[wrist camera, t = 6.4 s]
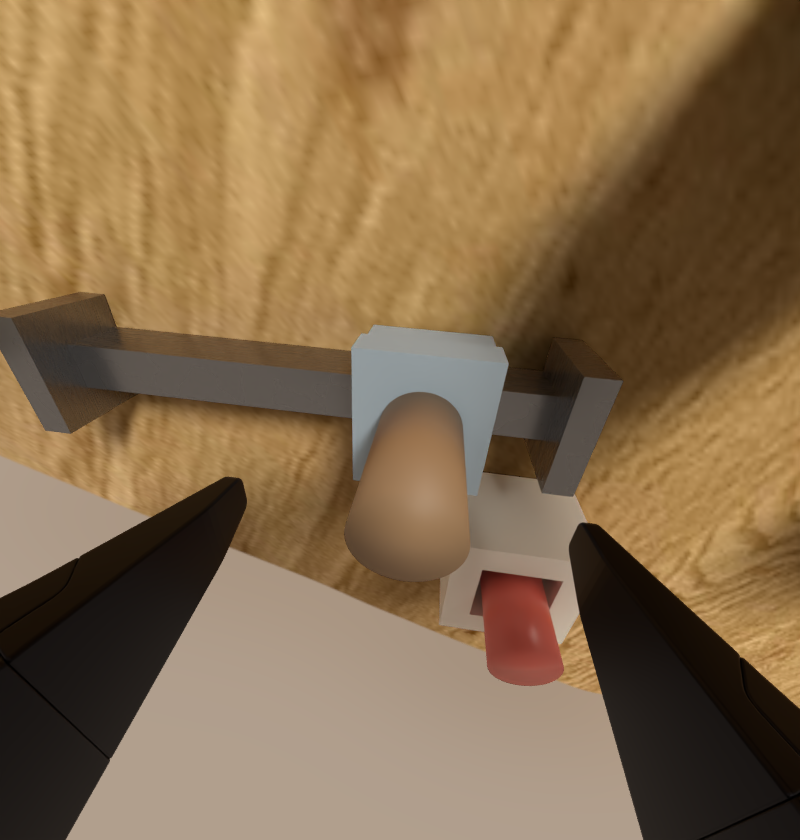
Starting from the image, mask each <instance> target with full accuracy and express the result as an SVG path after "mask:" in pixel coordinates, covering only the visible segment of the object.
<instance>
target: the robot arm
mask: <svg viewBox="0 0 800 840" xmlns="http://www.w3.org/2000/svg"><path fill="white" fill-rule="evenodd" d="M246 506H247V498H246V494H245V489H244V485H243V481H242V480H241V479H240V478H235V477H224V478H222V479H220V480H218V481H217V482H215V483H213V484H211V485H209V486H207V487H206V488H204V489H202V490H200V491H198V492H196V493H195V494H193V495H191V496H189V497H187V498H185V499H184V500H182V501H180V502H178V503H176V504H175V505H173V506H171V507H169V508H167V509H165V510H164V511H162V512H160V513H158V514H156V515H154V516H153V517H151V518H149V519H147V520H146V521H143V522H142V523H140V524H138V525H137V526H134V527H133V528H131V529H129V530H127V531H125V532H123V533H122V534H120V535H118V536H116V537H114V538H113V539H111V540H109V541H107V542H105V543H103V544H101V545H100V546H98V547H96V548H94V549H92V550H90V551H89V552H87V553H85V554H83V555H82V556H80V558H79V559H78V558H76V559H74V560H72V561H71V562H68V563H67V564H65V565H63V566H61V567H59V568H57V569H56V570H54V571H52V572H50V573H48V574H46V575H44V576H42V577H41V578H39V579H37V580H35V581H33V582H31V583H29V584H27V585H26V586H23V587H21V588H19V589H17V590H15V591H13V592H11V593H9V594H7V595H5V596H3V597H1V598H0V840H66V838H67V836H68V834H69V833H70V831H71V829H72V827H73V826H74V824H75V822H76V820H77V819H78V817H79V815H80V813H81V811H82V810H83V808H84V806H85V804H86V803H87V801H88V799H89V797H90V795H91V794H92V792H93V790H94V788H95V787H96V785H97V783H98V781H99V780H100V778H101V776H102V774H103V773H104V771H105V769H106V767H107V765H108V764H109V762H110V758H111V757H112V756H113V754H114V752H115V751H116V749H117V747H118V745H119V743H120V742H121V740H122V738H123V737H124V735H125V733H126V731H127V729H128V728H129V726H130V724H131V722H132V721H133V719H134V717H135V715H136V713H137V712H138V710H139V708H140V707H141V705H142V703H143V701H144V699H145V698H146V696H147V694H148V692H149V691H150V689H151V687H152V685H153V684H154V682H155V680H156V678H157V676H158V675H159V673H160V671H161V669H162V668H163V666H164V664H165V662H166V660H167V659H168V657H169V655H170V653H171V652H172V650H173V648H174V646H175V645H176V643H177V641H178V639H179V638H180V636H181V634H182V632H183V630H184V628H185V627H186V625H187V623H188V621H189V620H190V618H191V616H192V614H193V613H194V611H195V609H196V607H197V605H198V604H199V602H200V600H201V599H202V597H203V595H204V593H205V591H206V590H207V588H208V586H209V584H210V582H211V581H212V579H213V577H214V576H215V574H216V572H217V570H218V568H219V566H220V565H221V563H222V561H223V559H224V557H225V555H226V553H227V550H228V548H229V546H230V544H231V541H232V539H233V537H234V534H235V532H236V530H237V528H238V525H239V523H240V521H241V518H242V516H243V514H244V511H245V509H246ZM569 556H570V562H571V568H572V574H573V580H574V586H575V592H576V598H577V603H578V608H579V613H580V617H581V621H582V624H583V628H584V631H585V635H586V638H587V642H588V646H589V649H590V653H591V656H592V660H593V663H594V667H595V670H596V674H597V677H598V681H599V684H600V688H601V692H602V695H603V699H604V702H605V706H606V709H607V713H608V716H609V720H610V723H611V727H612V730H613V734H614V738H615V741H616V744H617V748H618V751H619V755H620V759H621V762H622V766H623V769H624V773H625V776H626V780H627V783H628V787H629V791H630V794H631V798H632V801H633V805H634V808H635V812H636V815H637V819H638V822H639V825H640V830H641V833H642V837H643V840H800V708H798V707H797V706H796V705H795V704H794V703H793V702H792V701H790V700H789V699H788V698H787V697H786V696H785V695H784V694H783V693H781V692H780V691H779V690H778V689H777V688H776V687H775V686H774V685H773V684H771V683H770V682H769V681H768V680H767V679H766V678H765V677H764V676H763V675H761V674H760V673H759V672H758V671H757V670H756V669H755V668H754V667H753V666H752V665H751V664H749V663H748V662H747V661H746V660H745V659H744V658H741V657H740V656H739V654H738V653H737V652H736V651H735V650H734V649H733V648H732V647H731V646H730V645H729V644H728V643H726V642H725V641H724V640H723V639H722V638H721V637H720V636H719V635H718V634H717V633H716V632H714V631H713V630H712V629H711V628H710V627H709V626H708V625H707V624H706V623H705V622H704V621H702V620H701V619H700V618H699V617H698V616H697V615H696V614H695V613H694V612H693V611H692V610H691V609H689V608H688V607H687V606H686V605H685V604H684V603H683V602H682V601H681V600H680V599H679V598H677V597H676V596H675V595H674V594H673V593H672V592H671V591H670V590H669V589H668V588H667V587H666V586H664V585H663V584H662V583H661V582H660V581H659V580H658V579H657V578H656V577H655V576H654V575H652V574H651V573H650V572H649V571H648V570H647V569H646V568H645V567H644V566H643V565H642V564H640V563H639V562H638V561H637V560H636V559H635V558H634V557H633V556H632V555H631V554H630V553H629V552H627V551H626V550H625V549H624V548H623V547H622V546H621V545H620V544H619V543H618V542H617V541H615V540H614V539H613V538H612V537H611V536H610V535H609V534H608V533H607V532H606V531H605V530H604V529H602V528H601V527H600V526H599V525H597V524H593V523H585V522H582V523H580V524H578V526H577V528H576V530H575V532H574V534H573V537H572V539H571V541H570V543H569Z"/></svg>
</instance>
